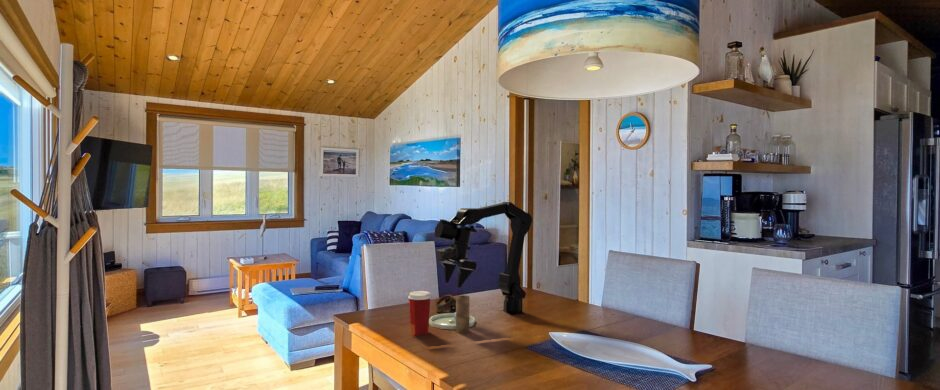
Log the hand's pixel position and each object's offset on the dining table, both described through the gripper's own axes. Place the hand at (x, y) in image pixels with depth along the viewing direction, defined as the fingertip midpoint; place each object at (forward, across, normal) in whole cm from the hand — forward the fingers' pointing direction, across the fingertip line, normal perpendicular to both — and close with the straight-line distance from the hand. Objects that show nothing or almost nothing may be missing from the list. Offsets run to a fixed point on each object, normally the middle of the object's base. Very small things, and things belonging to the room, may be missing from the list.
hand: (452, 284), depth 181 cm
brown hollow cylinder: (+12, -12, +8) cm, 19 cm away
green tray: (+14, +3, +2) cm, 14 cm away
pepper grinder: (+14, +13, 0) cm, 19 cm away
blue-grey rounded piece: (+12, +1, +5) cm, 13 cm away
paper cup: (+17, +8, -13) cm, 23 cm away
